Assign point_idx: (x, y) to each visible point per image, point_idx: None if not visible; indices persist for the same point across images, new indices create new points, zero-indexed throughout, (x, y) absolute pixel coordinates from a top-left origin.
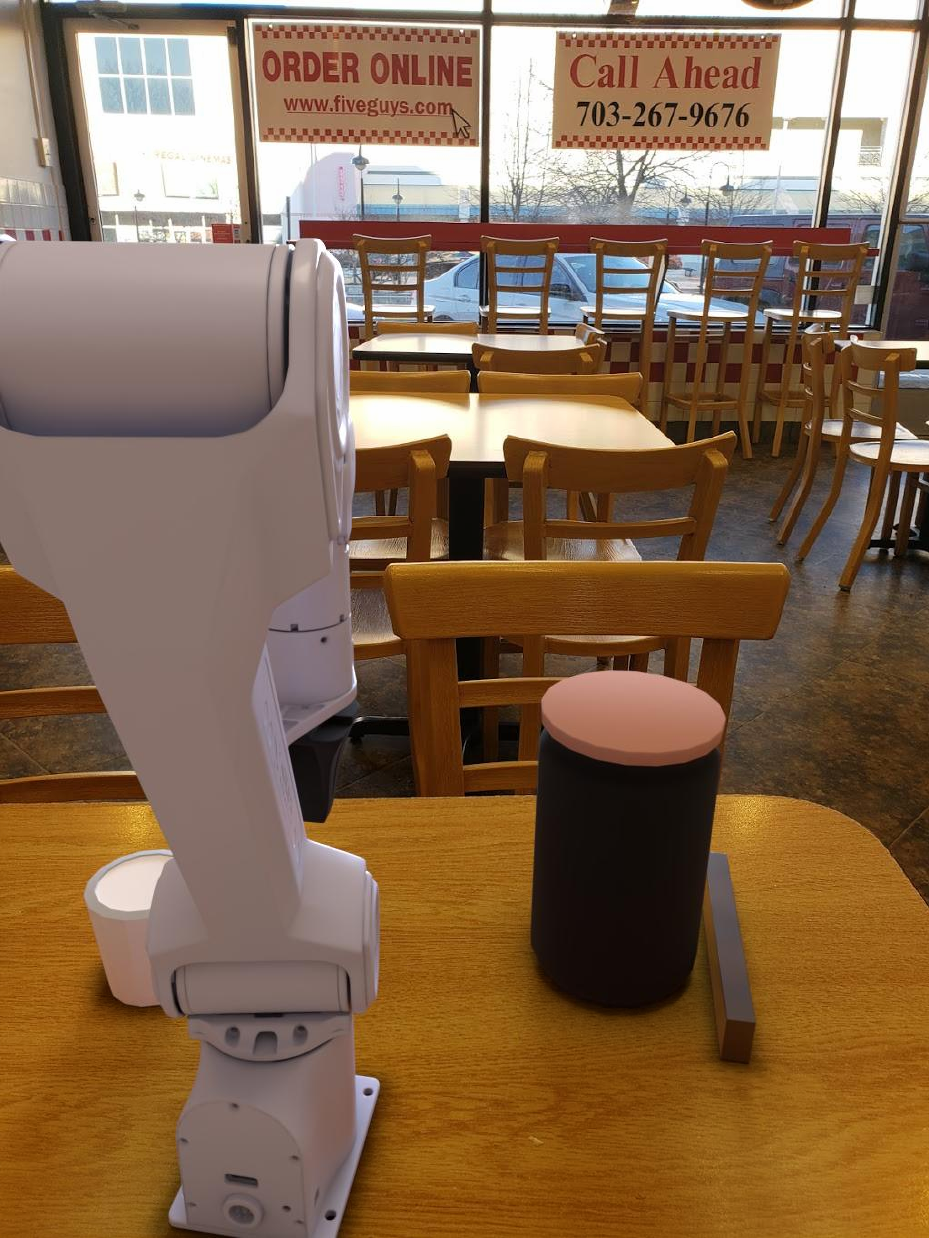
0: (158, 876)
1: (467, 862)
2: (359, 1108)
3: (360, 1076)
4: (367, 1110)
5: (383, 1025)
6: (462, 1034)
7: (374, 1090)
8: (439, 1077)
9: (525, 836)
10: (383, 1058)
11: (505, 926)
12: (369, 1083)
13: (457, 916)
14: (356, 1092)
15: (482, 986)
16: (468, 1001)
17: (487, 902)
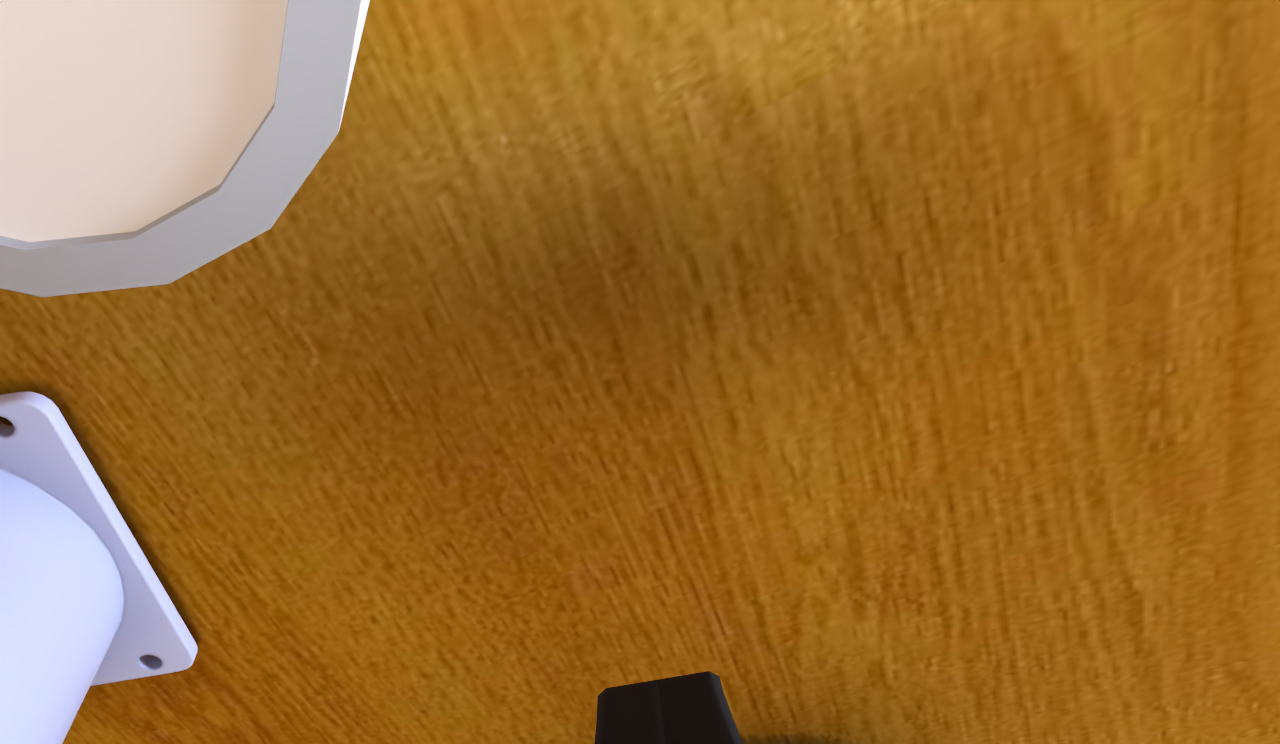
0: (71, 2)
1: (1040, 553)
2: (102, 662)
3: (178, 635)
4: (105, 679)
5: (371, 592)
6: (425, 714)
7: (160, 670)
8: (295, 716)
9: (1169, 630)
10: (280, 624)
11: (789, 686)
12: (170, 658)
13: (802, 599)
14: (133, 645)
15: (577, 703)
16: (522, 696)
17: (871, 635)
